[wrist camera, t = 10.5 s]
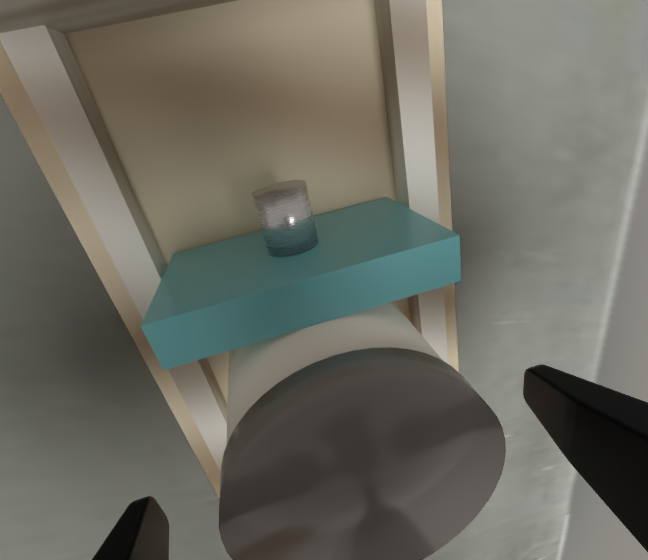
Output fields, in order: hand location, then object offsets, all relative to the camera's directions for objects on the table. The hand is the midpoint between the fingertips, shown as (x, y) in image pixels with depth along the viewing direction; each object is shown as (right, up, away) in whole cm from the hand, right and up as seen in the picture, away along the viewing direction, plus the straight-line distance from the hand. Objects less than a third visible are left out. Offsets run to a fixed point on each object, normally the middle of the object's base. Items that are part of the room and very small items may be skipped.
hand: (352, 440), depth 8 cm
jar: (-1, +2, +5) cm, 6 cm away
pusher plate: (-2, +6, +3) cm, 7 cm away
